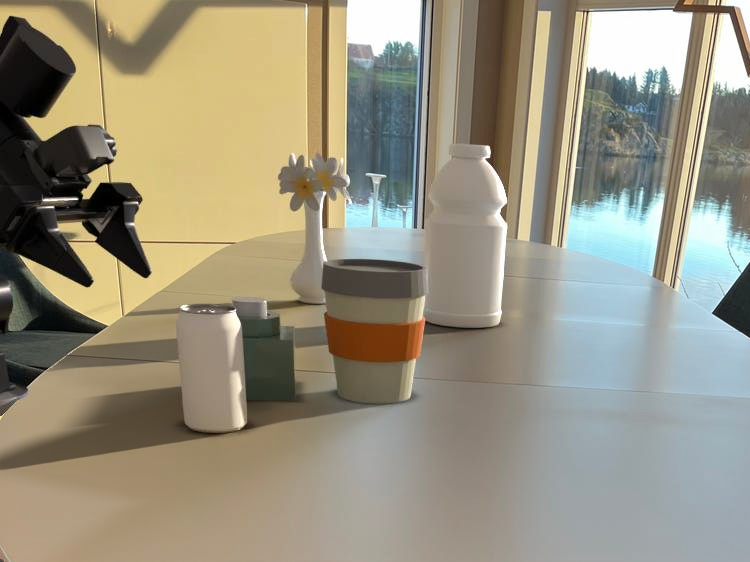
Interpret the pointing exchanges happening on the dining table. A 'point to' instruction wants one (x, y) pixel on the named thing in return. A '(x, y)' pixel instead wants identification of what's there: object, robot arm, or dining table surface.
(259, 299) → the white button cap
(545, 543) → the dining table surface
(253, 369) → the button housing
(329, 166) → the flower vase
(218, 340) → the can
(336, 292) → the reusable coffee cup
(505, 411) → the dining table surface
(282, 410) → the dining table surface
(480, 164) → the bottle
